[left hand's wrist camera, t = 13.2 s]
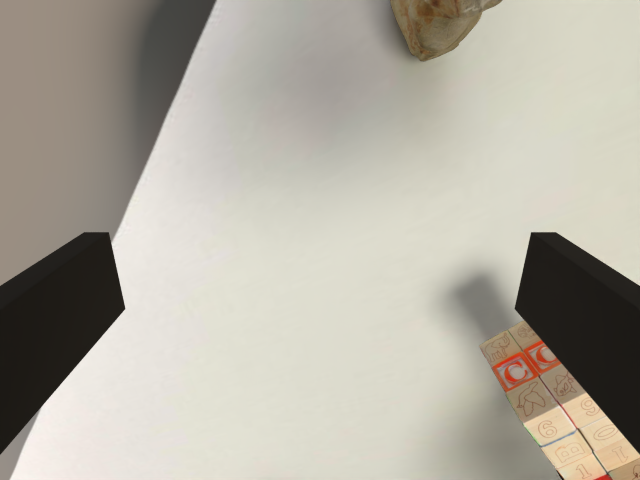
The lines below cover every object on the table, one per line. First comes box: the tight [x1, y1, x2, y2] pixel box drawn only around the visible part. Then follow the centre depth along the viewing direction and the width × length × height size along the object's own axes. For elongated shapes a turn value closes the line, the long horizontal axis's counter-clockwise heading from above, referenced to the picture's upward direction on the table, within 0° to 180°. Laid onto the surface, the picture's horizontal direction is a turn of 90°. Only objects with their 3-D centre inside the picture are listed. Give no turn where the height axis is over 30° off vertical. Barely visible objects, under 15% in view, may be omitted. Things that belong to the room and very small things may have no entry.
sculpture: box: [390, 0, 502, 61], centre depth 29 cm, size 6×7×15 cm
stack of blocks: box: [479, 320, 640, 480], centre depth 34 cm, size 21×6×12 cm, turn 37°
